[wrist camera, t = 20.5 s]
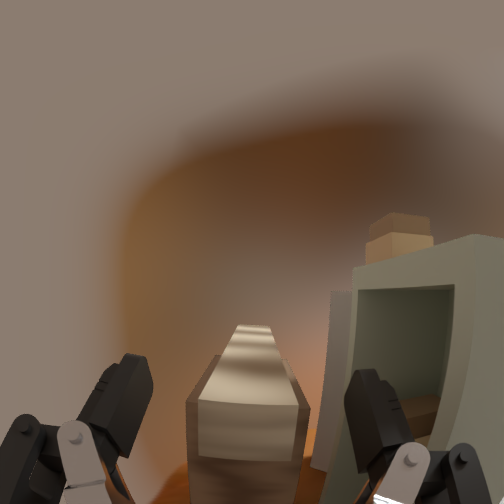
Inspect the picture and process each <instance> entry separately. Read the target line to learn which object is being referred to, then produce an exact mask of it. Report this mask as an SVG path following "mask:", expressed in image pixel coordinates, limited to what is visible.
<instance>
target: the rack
mask: <svg viewBox="0 0 504 504" xmlns="http://www.w3.org/2000/svg"><path fill="white" fill-rule="evenodd" d="M372 368H374V369H375V370H376V371H377V373H378V376H379V378H380V381H381V380H386V381H387V382H388V383H389V384H390V385H391V386H392V387H393V388H394V389H395V392H396V394H397V397H398V401H399V402H400V404H401V406H402V409H403V411H404V414H405V417H406V419H407V422H408V424H409V427H410V430H411V432H412V435H413V438H414V440H415V442H416V443H420V444H422V445H423V446H425V447H426V448H427V450H429V451H450V450H451V449H452V448H453V447H454V446H455V445H456V444H459V443H468V444H470V445H471V446H472V447H473V448H474V449H475V451H476V453H477V456H478V458H479V461H480V464H481V467H482V470H483V473H484V476H485V479H486V483H487V486H488V490H489V493H490V497H491V501H492V504H499V503H500V501H501V500H502V498H503V497H504V239H502V238H497V237H491V236H484V235H478V234H471V235H468V236H465V237H462V238H459V239H456V240H452V241H449V242H446V243H443V244H439V245H436V246H434V243H433V236H430V223H429V217H422V216H415V215H408V214H400V213H393V212H392V213H390V214H389V215H387V216H385V217H384V218H382V219H380V220H379V221H377V222H375V223H374V224H372V225H370V242H369V243H367V244H366V265H364V266H360V267H356V268H353V285H352V307H351V322H350V335H349V346H348V356H347V365H346V373H345V381H344V388H343V395H342V401H341V408H340V413H339V419H338V425H337V430H336V435H335V440H334V445H333V449H332V454H331V458H330V462H329V467H328V471H327V475H326V478H325V482H324V486H323V489H322V493H321V496H320V500H319V503H318V504H353V502H354V501H355V499H356V498H357V496H358V495H359V493H360V492H361V490H362V488H363V487H364V485H365V483H366V482H367V480H368V479H369V475H368V473H362V474H358V470H357V465H356V460H355V455H354V450H353V445H352V440H351V436H350V431H349V427H348V422H347V418H346V413H345V409H344V396H345V392H346V390H347V388H348V385H349V383H350V381H351V378H352V376H353V373H354V371H355V370H359V369H372ZM413 504H415V502H414V503H413Z"/></svg>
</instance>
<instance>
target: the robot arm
mask: <svg viewBox="0 0 504 504" xmlns="http://www.w3.org/2000/svg"><path fill="white" fill-rule="evenodd" d="M152 393H153V381H152V377H151V373H150V370H149V366H148V363H147V359H146V357H144V356H140V355H134V354H129V353H126V354H125V355H124V357H123V359H122V361H121V362H120V364H116V363H114V364H112V365H111V366H110V367H109V368H107V369H106V370H105V371H104V372H103V374H102V376H101V378H100V379H99V382H98V383H97V384H96V386H95V389H94V390H93V391H92V393H91V395H90V396H89V398H88V400H87V402H86V404H85V405H84V407H83V409H82V411H81V413H80V414H79V416H78V418H77V419H76V420H73V421H68V422H66V423H64V424H63V425H62V426H51V425H44V424H40V423H39V421H38V420H37V419H36V418H35V417H34V416H32V415H30V414H23V415H20V416H18V417H17V418H16V419H15V420H14V422H13V424H12V425H11V427H10V429H9V431H8V433H7V435H6V437H5V438H4V441H3V443H2V445H1V446H0V504H59V502H60V499H61V496H62V493H63V490H64V496H65V499H66V502H67V504H135V502H134V500H133V498H132V496H131V494H130V492H129V490H128V488H127V486H126V484H125V482H124V479H123V477H122V475H121V472H120V470H119V468H118V465H117V463H116V462H117V459H118V457H119V456H122V457H125V458H129V455H130V452H131V449H132V447H133V443H134V441H135V438H136V435H137V433H138V430H139V428H140V425H141V422H142V420H143V417H144V415H145V412H146V409H147V407H148V404H149V402H150V399H151V397H152ZM344 409H345V413H346V418H347V422H348V427H349V431H350V436H351V440H352V445H353V450H354V455H355V460H356V465H357V470H358V474H362V473H368V475H369V479H368V480H367V482H366V483H365V485H364V487H363V488H362V490H361V492H360V493H359V495H358V496H357V498H356V499H355V501H354V502H353V504H413V503H414V502H415V504H492V501H491V497H490V493H489V490H488V486H487V483H486V479H485V476H484V473H483V470H482V467H481V464H480V461H479V458H478V456H477V453H476V451H475V449H474V448H473V447H472V446H471V445H470V444H468V443H459V444H456V445H455V446H454V447H453V448H452V449H451V450H450V451H429V450H427V448H426V447H425V446H423V445H422V444H420V443H416V442H415V440H414V438H413V435H412V432H411V430H410V427H409V424H408V422H407V419H406V417H405V414H404V411H403V409H402V406H401V404H400V402H399V401H398V397H397V394H396V392H395V389H394V388H393V387H392V386H391V385H390V384H389V383H388V382H387V381H386V380H381V381H380V378H379V376H378V373H377V371H376V370H375V369H374V368H372V369H359V370H355V371H354V373H353V376H352V378H351V381H350V383H349V385H348V388H347V390H346V392H345V396H344ZM36 461H37V462H36ZM34 466H35V467H34ZM33 468H34V469H33ZM32 471H33V472H32ZM31 473H32V474H31ZM30 476H31V477H30ZM29 478H30V479H29ZM66 481H67V482H68V487H66V488H65V489H64V487H65V484H66Z"/></svg>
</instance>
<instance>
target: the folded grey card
mask: <svg viewBox="0 0 504 504" xmlns="http://www.w3.org/2000/svg"><path fill="white" fill-rule="evenodd" d="M330 303H331V304H330V319H329V333H328V345H327V357H326V366H325V374H324V383H323V391H322V398H321V406H320V412H319V419H318V426H317V431H316V437H315V443H314V448H313V453H312V459H311V464H310V467H312V468H315V469H318V470H321V471H324V472H327V471H328V467H329V462H330V458H331V454H332V449H333V445H334V440H335V435H336V430H337V425H338V419H339V413H340V408H341V401H342V395H343V388H344V381H345V373H346V365H347V356H348V346H349V335H350V322H351V307H352V292H349V291H346V292H344V291H343V292H342V291H331V302H330Z"/></svg>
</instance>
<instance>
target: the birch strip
mask: <svg viewBox="0 0 504 504" xmlns="http://www.w3.org/2000/svg"><path fill="white" fill-rule="evenodd" d="M298 408H299V404H298V401H297V399H296V396H295V394H294V391H293V388H292V386H291V383H290V380H289V378H288V375H287V373H286V370H285V367H284V365H283V362H282V359H281V357H280V354H279V352H278V349H277V346H276V343H275V341H274V338H273V336H272V333H271V330H270V328H269V326H257V325H240V324H239V325H238V327H237V328H236V330H235V332H234V334H233V336H232V338H231V340H230V342H229V343H228V346H227V347H226V349H225V351H224V353H223V355H222V356H221V358H220V360H219V362H218V364H217V366H216V367H215V369H214V371H213V373H212V375H211V377H210V378H209V380H208V382H207V384H206V386H205V387H204V389H203V391H202V393H201V395H200V396H199V398H198V452H199V456H206V457H214V458H223V459H234V460H249V461H291V458H292V452H293V445H294V438H295V431H296V424H297V416H298Z"/></svg>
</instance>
